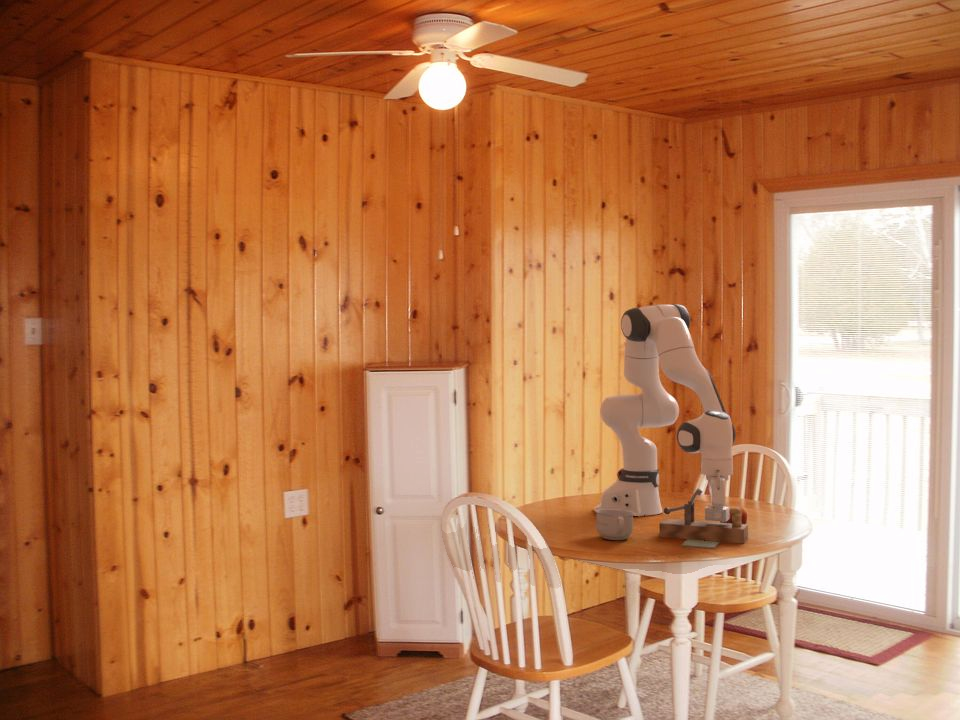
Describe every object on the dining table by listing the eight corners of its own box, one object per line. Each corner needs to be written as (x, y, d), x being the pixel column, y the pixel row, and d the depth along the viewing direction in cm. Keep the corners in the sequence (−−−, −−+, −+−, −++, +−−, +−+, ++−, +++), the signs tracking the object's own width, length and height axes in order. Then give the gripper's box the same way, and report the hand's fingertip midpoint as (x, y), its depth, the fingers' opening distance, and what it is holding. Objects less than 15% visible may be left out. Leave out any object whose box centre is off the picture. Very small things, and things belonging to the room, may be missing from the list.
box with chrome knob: (705, 520, 273) (705, 506, 273) (708, 517, 277) (708, 503, 277) (726, 521, 270) (726, 508, 270) (729, 518, 274) (729, 505, 274)
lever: (682, 525, 276) (661, 512, 278) (684, 523, 279) (664, 510, 281) (701, 492, 273) (679, 479, 276) (703, 490, 276) (682, 478, 279)
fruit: (737, 529, 279) (727, 503, 282) (721, 538, 285) (711, 513, 289) (757, 526, 283) (747, 501, 286) (741, 535, 289) (732, 511, 292)
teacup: (596, 534, 282) (595, 507, 282) (633, 534, 281) (632, 507, 281) (597, 545, 268) (596, 516, 268) (636, 545, 267) (635, 517, 267)
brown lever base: (659, 537, 277) (659, 502, 277) (665, 532, 283) (665, 498, 283) (743, 543, 267) (743, 508, 266) (747, 538, 273) (747, 503, 273)
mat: (681, 546, 265) (681, 544, 265) (687, 540, 271) (687, 539, 271) (714, 548, 261) (714, 547, 261) (719, 543, 268) (719, 541, 268)
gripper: (730, 474, 262) (730, 523, 263) (726, 462, 282) (726, 508, 283) (706, 473, 263) (707, 523, 264) (704, 462, 283) (704, 508, 284)
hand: (717, 515), depth 274 cm, fingers closed on box with chrome knob, 5 cm apart
